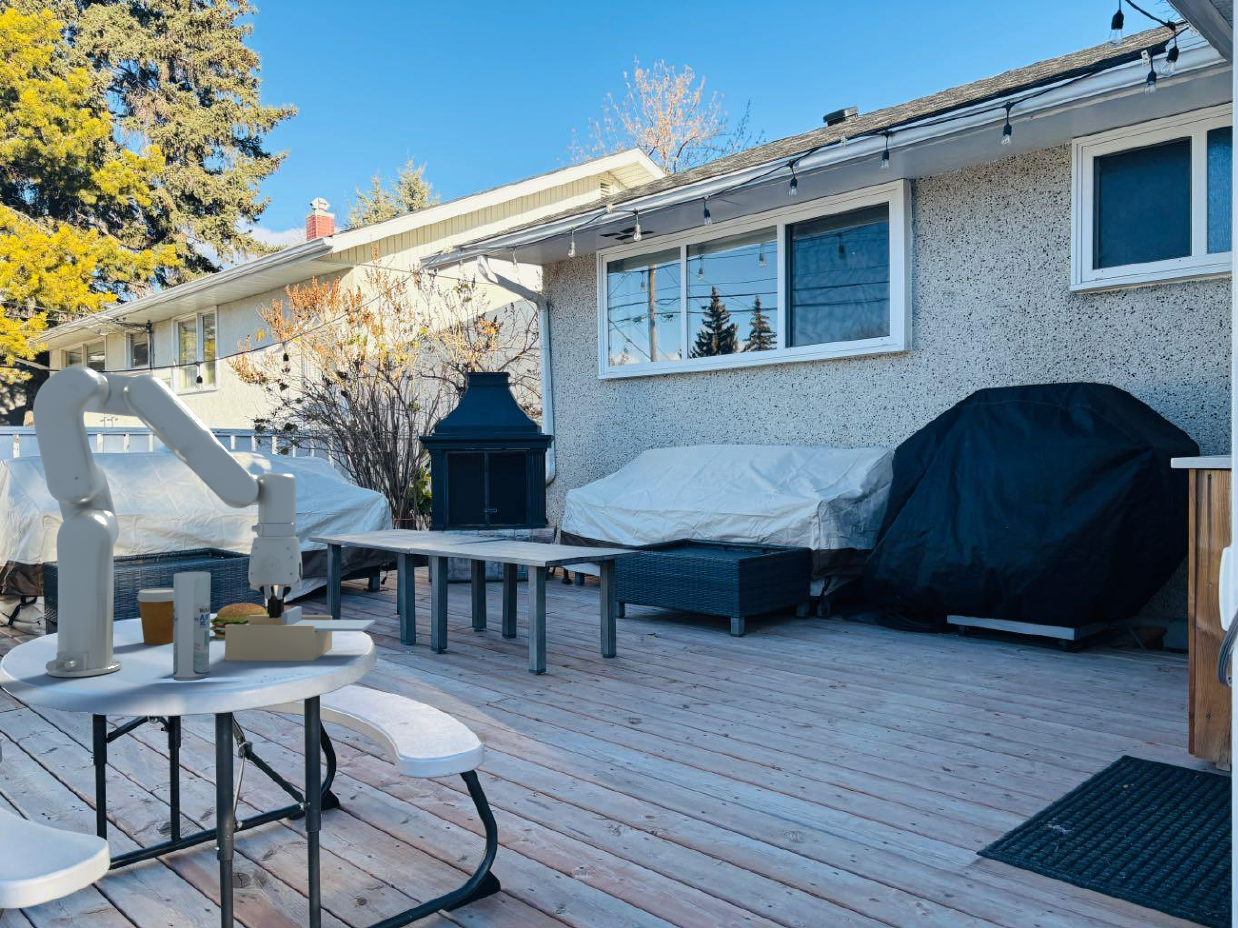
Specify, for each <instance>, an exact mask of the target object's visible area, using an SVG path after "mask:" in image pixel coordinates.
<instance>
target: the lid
mask: <svg viewBox="0 0 1238 928" xmlns="http://www.w3.org/2000/svg"><path fill="white" fill-rule="evenodd" d="M302 608H303V607H302V606H297V605H296V606H293V607H292V608H290V609H289V608H288V609H287V610H284V612H283V613H282V617H281V625H315V631H332V632H364V631H365V630H367V629H368V628H370V627H371V626H373V625H374V624H376V620H375V619H365V620H364V619H332V620H302V616H303V615H302V614H303V611H302Z"/></svg>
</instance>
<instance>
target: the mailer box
mask: <svg viewBox="0 0 1238 928" xmlns="http://www.w3.org/2000/svg"><path fill="white" fill-rule="evenodd" d="M281 617H282V616H281ZM281 617H279V618H269V615H249V621H248V624H245V625H225V639H224V642H225V643H224V661H225V662H227V661H228V662H229V661H230V662H231V661H233V662H234V661H236V662H238V661H239V662H240V661H241V662H242V661H244V662H253V661H254V662H314V661H316V660H317V659H319V658H320V657H321V656H323V655H324V654H326V653H327V652H329V651H331V650H333V631H315V625H281ZM302 620H333V615H302Z"/></svg>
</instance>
